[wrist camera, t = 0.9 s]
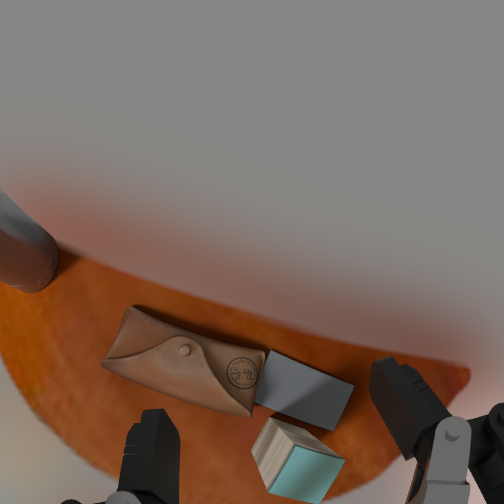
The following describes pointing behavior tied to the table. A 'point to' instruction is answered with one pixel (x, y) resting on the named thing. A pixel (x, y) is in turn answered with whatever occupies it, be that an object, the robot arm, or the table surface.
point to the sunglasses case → (186, 364)
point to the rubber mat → (302, 392)
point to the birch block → (295, 462)
